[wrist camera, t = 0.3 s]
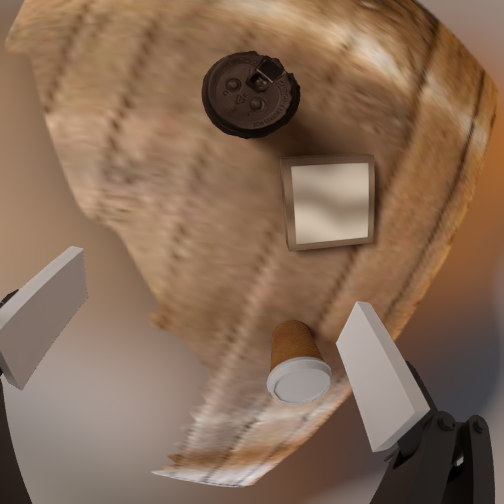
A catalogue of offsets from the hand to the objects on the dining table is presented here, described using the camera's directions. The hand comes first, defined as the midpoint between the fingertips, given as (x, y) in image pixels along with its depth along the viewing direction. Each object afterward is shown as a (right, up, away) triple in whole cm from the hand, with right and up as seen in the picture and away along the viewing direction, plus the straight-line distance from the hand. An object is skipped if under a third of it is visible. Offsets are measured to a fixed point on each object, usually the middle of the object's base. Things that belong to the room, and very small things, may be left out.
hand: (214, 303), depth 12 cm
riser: (+12, +10, +24) cm, 28 cm away
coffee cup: (+1, +21, +19) cm, 28 cm away
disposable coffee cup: (+8, -12, +34) cm, 37 cm away
